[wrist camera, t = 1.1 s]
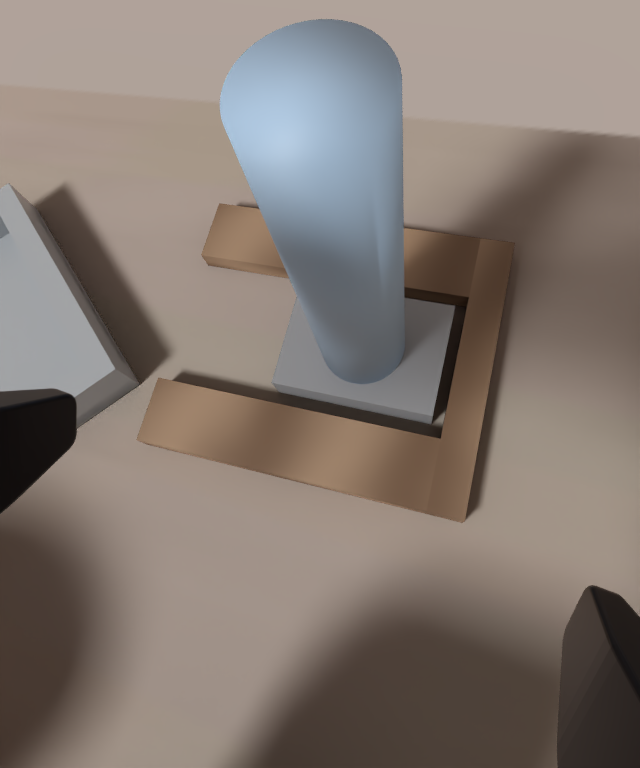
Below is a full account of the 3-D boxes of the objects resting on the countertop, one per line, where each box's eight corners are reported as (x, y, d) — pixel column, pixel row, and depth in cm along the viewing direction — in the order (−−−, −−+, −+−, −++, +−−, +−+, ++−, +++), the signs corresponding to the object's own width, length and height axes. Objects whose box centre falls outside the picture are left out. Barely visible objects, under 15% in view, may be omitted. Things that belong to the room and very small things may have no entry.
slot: (510, 254, 25) (515, 242, 24) (462, 522, 22) (464, 521, 21) (225, 215, 28) (219, 203, 27) (146, 444, 25) (136, 439, 24)
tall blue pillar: (452, 320, 24) (514, -1, 10) (430, 424, 23) (468, 222, 9) (307, 295, 26) (187, -12, 12) (279, 392, 25) (107, 176, 11)
